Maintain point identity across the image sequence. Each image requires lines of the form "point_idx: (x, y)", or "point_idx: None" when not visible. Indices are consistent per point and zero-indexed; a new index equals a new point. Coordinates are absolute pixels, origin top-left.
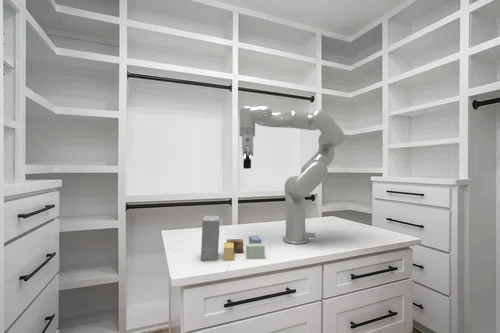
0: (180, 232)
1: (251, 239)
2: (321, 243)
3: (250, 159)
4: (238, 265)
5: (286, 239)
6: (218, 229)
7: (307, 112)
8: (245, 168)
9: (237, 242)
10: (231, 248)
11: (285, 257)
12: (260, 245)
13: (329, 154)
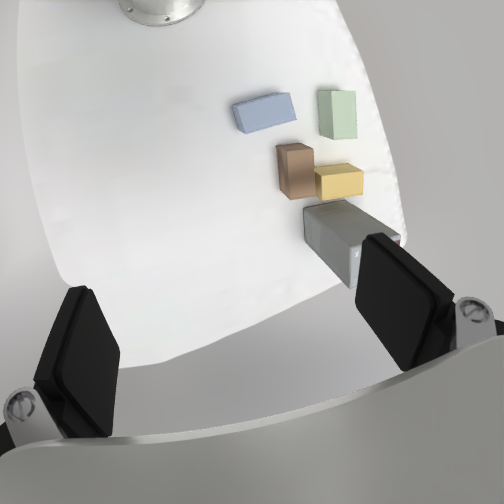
0: (121, 348)
1: (278, 124)
2: None
3: (470, 297)
4: (374, 151)
5: (180, 12)
6: (385, 225)
7: None
8: (108, 332)
9: (313, 165)
10: (362, 175)
11: (329, 39)
12: (349, 101)
13: None
